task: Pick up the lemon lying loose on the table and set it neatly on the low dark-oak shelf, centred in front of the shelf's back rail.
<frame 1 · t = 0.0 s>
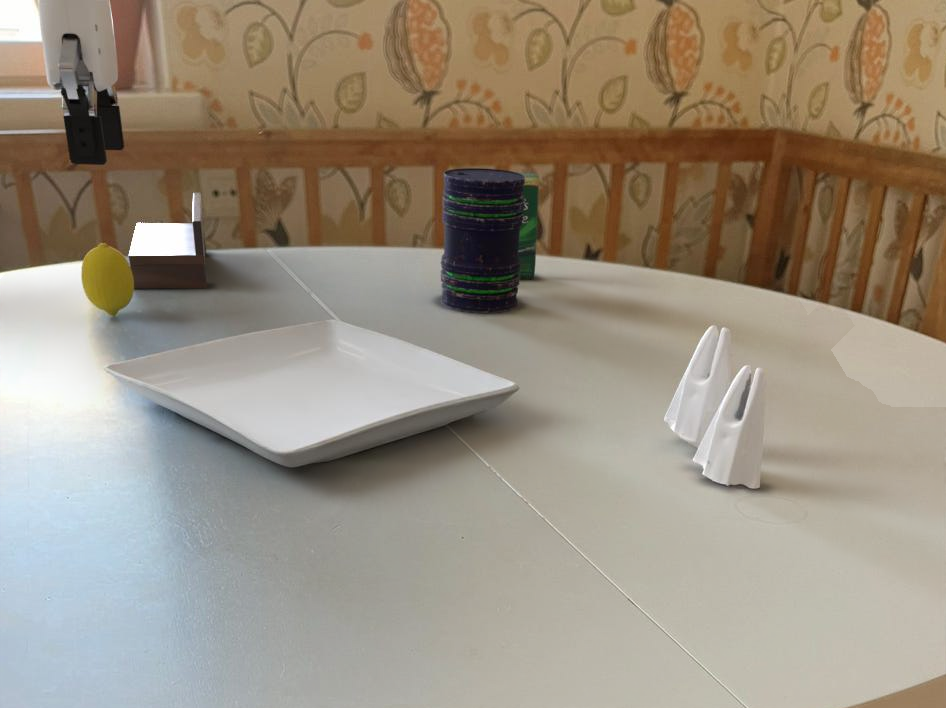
hand: (98, 156, 101), 18 cm above the table, tool pointing down, fingers open, 9 cm apart
shelf: (171, 269, 140), on the table
lemon: (113, 317, 120), on the table
coffee box: (504, 278, 144), on the table
navy striped canister: (479, 304, 132), on the table
shaker set: (707, 464, 90), on the table
square plate: (314, 413, 97), on the table
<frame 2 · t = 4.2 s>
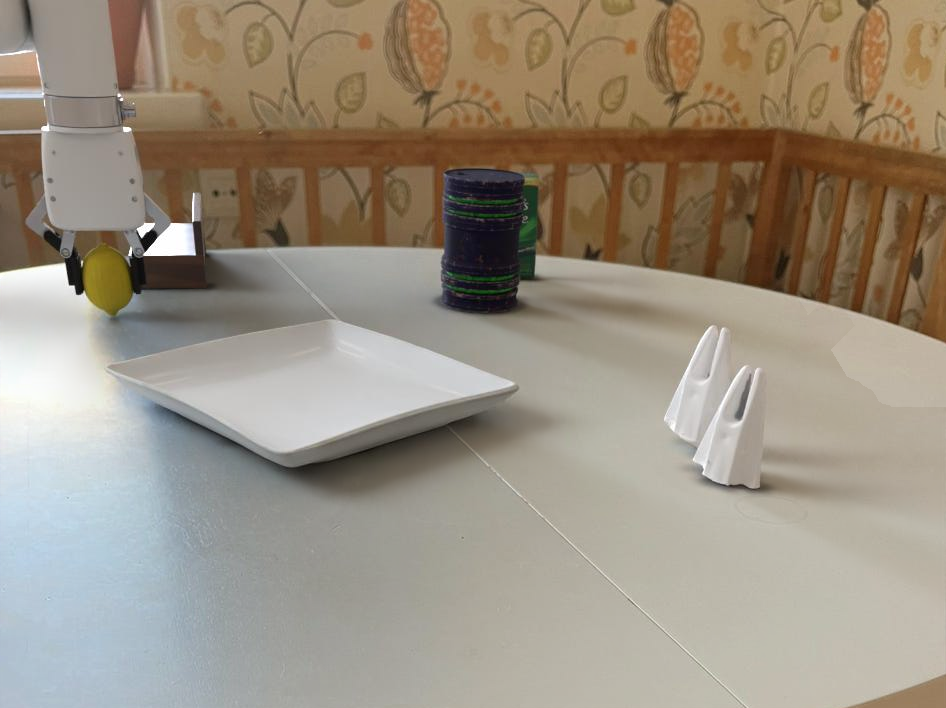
hand: (109, 290, 118), 3 cm above the table, tool pointing down, fingers closed on lemon, 5 cm apart
lemon: (113, 317, 120), on the table, touching gripper
everything else where it was.
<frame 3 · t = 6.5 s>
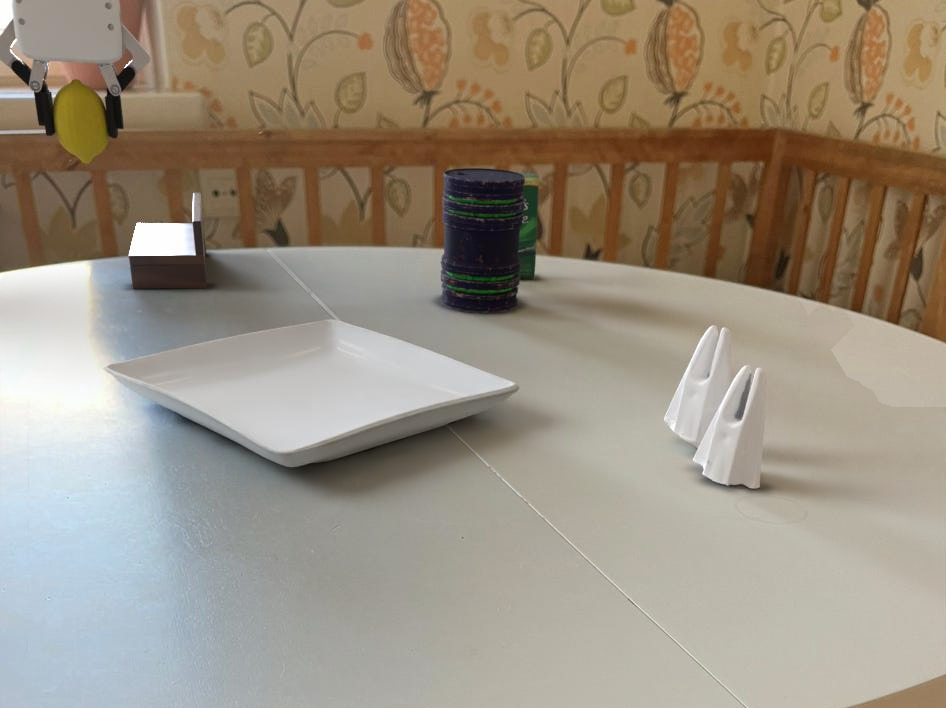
hand: (82, 133, 110), 19 cm above the table, tool pointing down, fingers closed on lemon, 5 cm apart
lemon: (86, 165, 111), point 16 cm above the table, touching gripper
everything else where it was.
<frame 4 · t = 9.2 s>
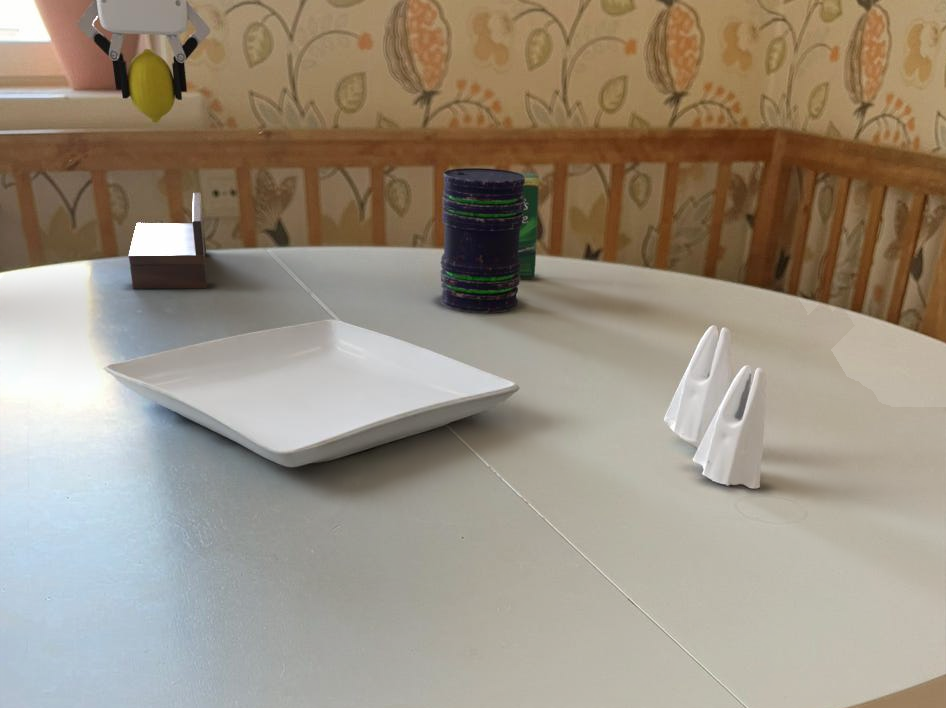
hand: (152, 96, 128), 21 cm above the table, tool pointing down, fingers closed on lemon, 5 cm apart
lemon: (155, 124, 130), point 18 cm above the table, touching gripper
everything else where it was.
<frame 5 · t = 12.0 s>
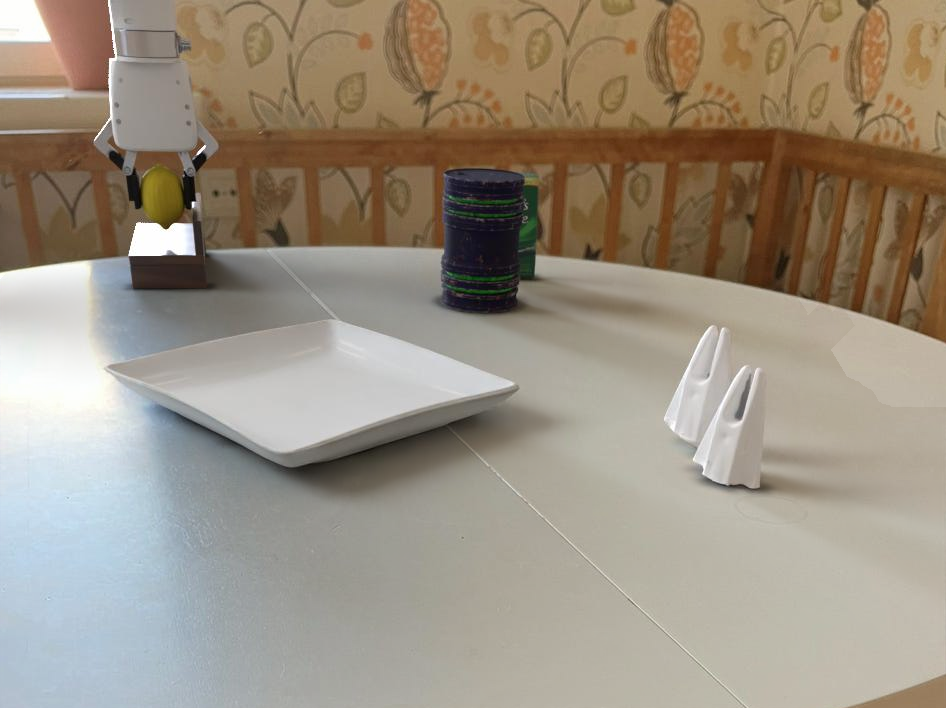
hand: (163, 206, 135), 8 cm above the table, tool pointing down, fingers closed on lemon, 5 cm apart
lemon: (166, 231, 137), point 5 cm above the table, touching gripper
everything else where it was.
when the fingers open (8 cm above the table, at t = 14.1 s): lemon drops 1 cm, resting on shelf.
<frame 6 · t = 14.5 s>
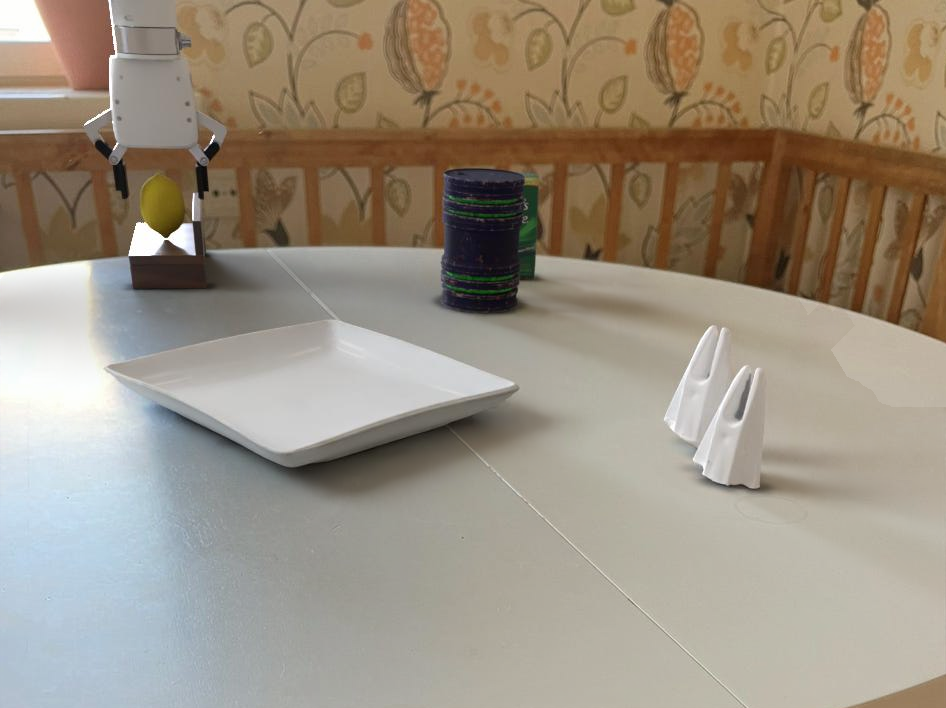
hand: (163, 197, 135), 9 cm above the table, tool pointing down, fingers open, 9 cm apart
lemon: (166, 240, 137), point 4 cm above the table, touching shelf
everything else where it was.
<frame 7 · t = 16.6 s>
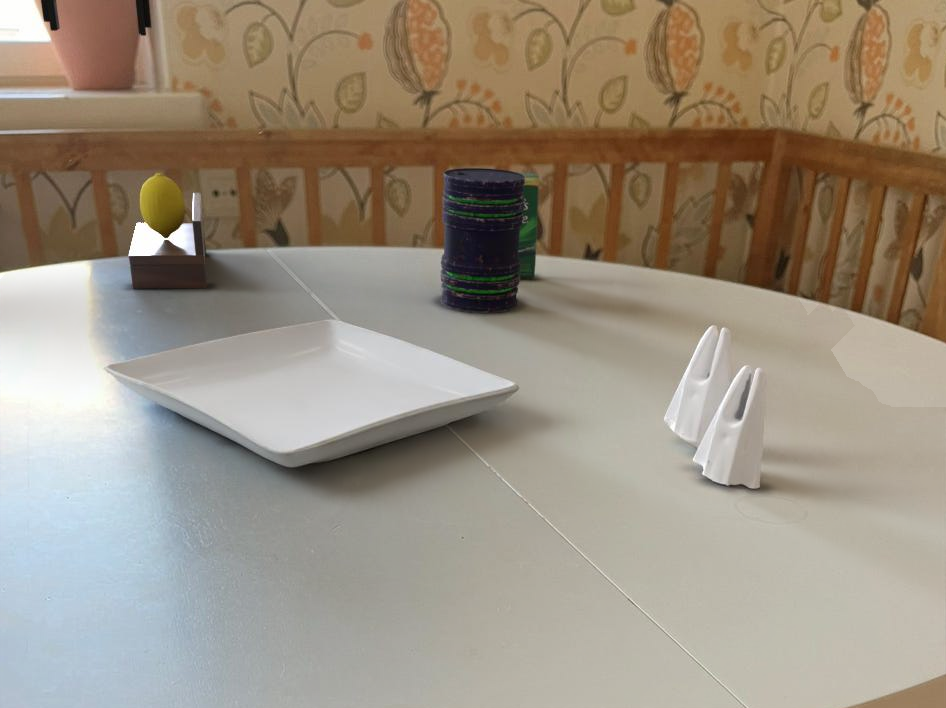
hand: (99, 32, 121), 27 cm above the table, tool pointing down, fingers open, 9 cm apart
nothing on the table moved.
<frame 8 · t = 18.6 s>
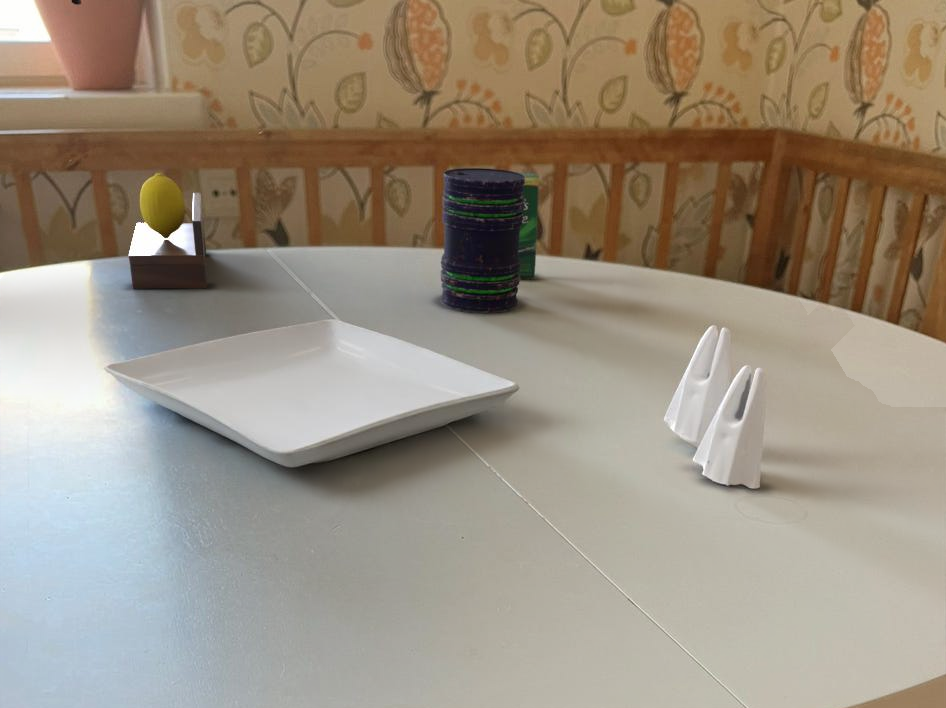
hand: (30, 2, 114), 30 cm above the table, tool pointing down, fingers open, 9 cm apart
nothing on the table moved.
at the end: lemon inside the target area on the shelf (0.4 cm from its centre), point 3.8 cm above the shelf's base; lemon touching shelf; the gripper is holding nothing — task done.
